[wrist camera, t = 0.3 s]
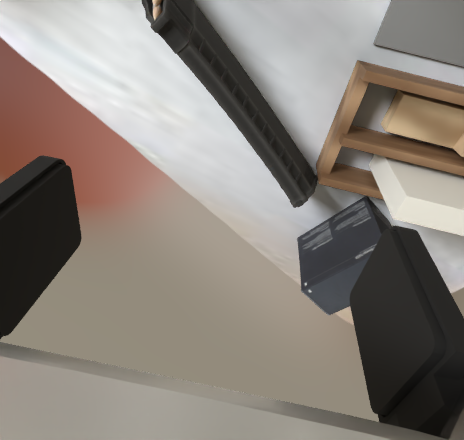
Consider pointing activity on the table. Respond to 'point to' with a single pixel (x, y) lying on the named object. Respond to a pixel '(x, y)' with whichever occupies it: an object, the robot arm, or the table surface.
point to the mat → (425, 29)
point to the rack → (378, 141)
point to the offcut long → (425, 119)
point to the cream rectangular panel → (421, 194)
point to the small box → (339, 254)
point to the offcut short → (460, 146)
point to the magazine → (232, 92)
